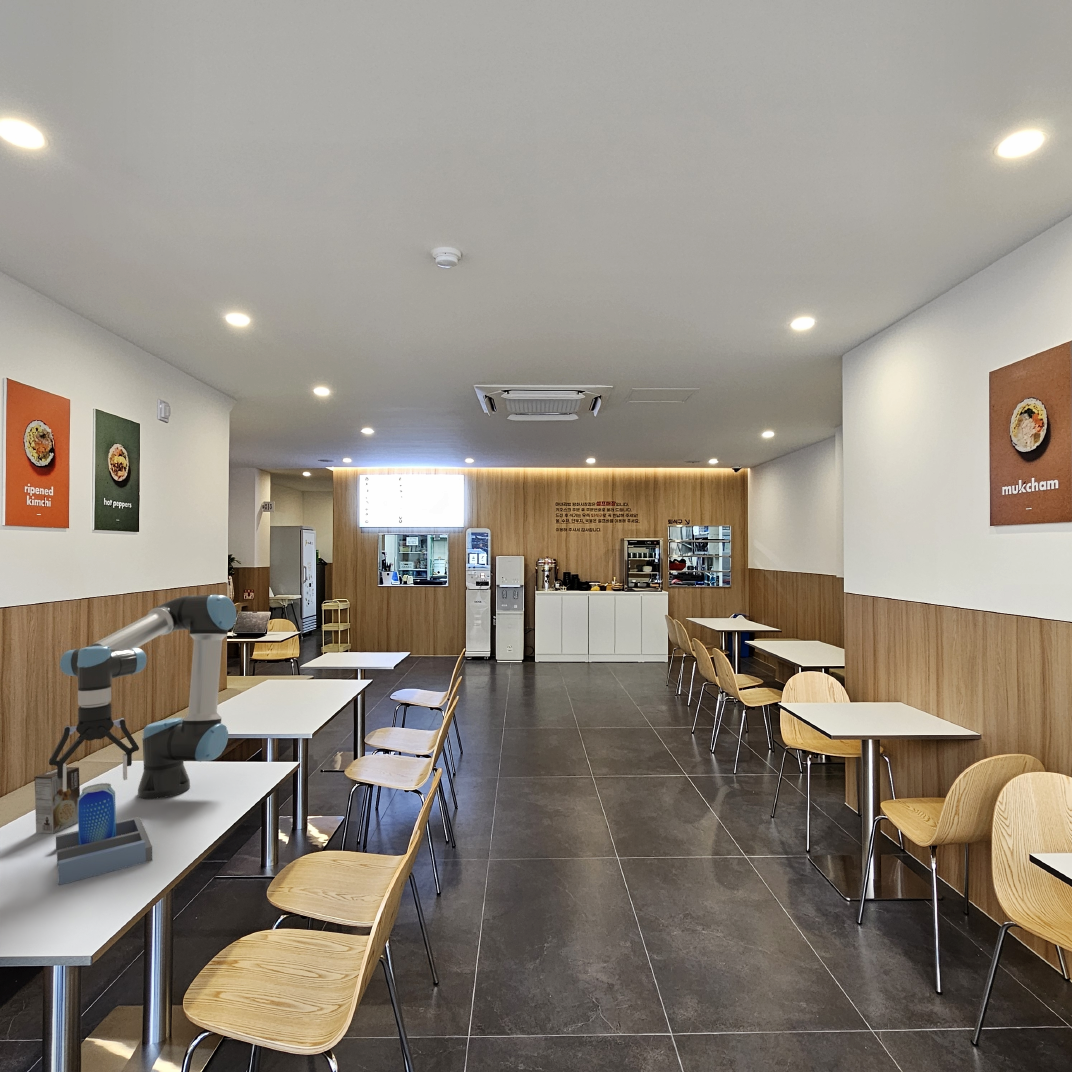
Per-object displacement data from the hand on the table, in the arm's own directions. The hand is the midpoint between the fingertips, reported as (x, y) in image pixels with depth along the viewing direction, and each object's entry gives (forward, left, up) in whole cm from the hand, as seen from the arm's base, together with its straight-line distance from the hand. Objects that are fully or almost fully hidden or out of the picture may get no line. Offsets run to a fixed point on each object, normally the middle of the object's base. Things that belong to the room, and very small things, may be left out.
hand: (95, 784), depth 181 cm
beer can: (0, 0, -17) cm, 17 cm away
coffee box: (+8, -25, -17) cm, 31 cm away
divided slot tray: (0, +6, -17) cm, 18 cm away
